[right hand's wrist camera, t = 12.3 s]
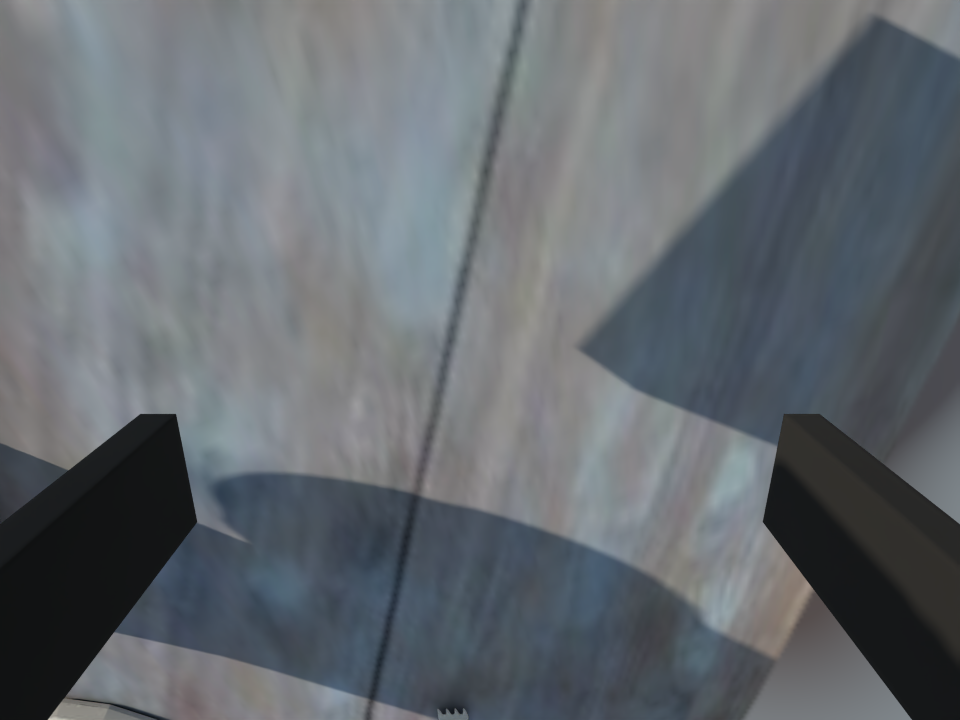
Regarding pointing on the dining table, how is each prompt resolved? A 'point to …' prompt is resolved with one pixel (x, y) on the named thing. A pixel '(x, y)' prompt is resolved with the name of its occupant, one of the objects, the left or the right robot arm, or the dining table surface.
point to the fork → (452, 715)
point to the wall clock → (92, 712)
